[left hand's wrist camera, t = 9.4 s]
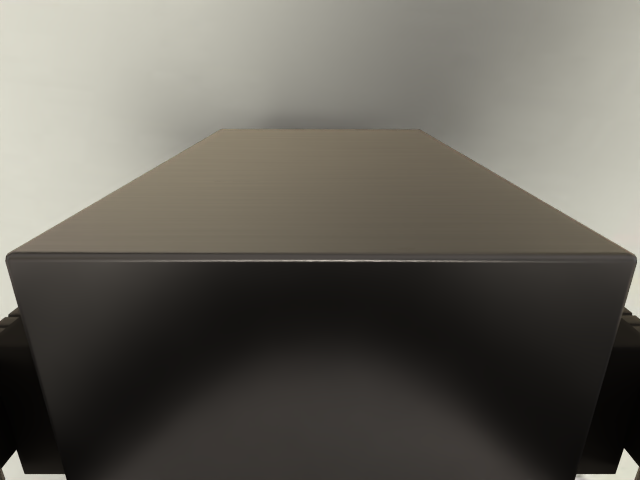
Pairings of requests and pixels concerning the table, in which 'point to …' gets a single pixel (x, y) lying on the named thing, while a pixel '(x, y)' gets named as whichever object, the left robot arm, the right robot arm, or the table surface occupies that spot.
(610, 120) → the table surface
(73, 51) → the table surface
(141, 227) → the box
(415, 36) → the table surface
